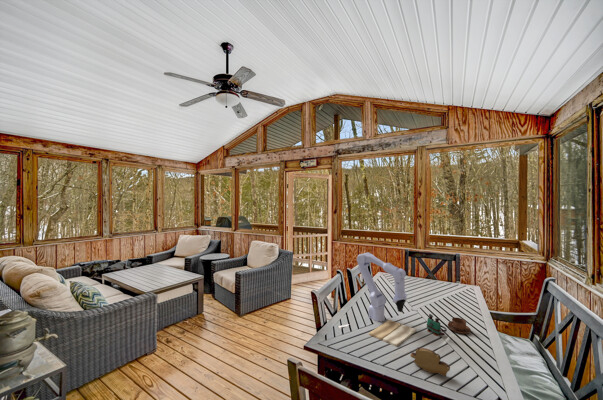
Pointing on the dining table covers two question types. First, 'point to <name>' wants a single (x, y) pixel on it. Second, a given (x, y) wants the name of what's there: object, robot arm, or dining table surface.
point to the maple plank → (399, 335)
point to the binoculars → (435, 326)
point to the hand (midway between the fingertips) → (400, 311)
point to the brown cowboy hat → (459, 325)
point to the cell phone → (343, 326)
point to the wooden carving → (430, 361)
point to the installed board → (385, 329)
